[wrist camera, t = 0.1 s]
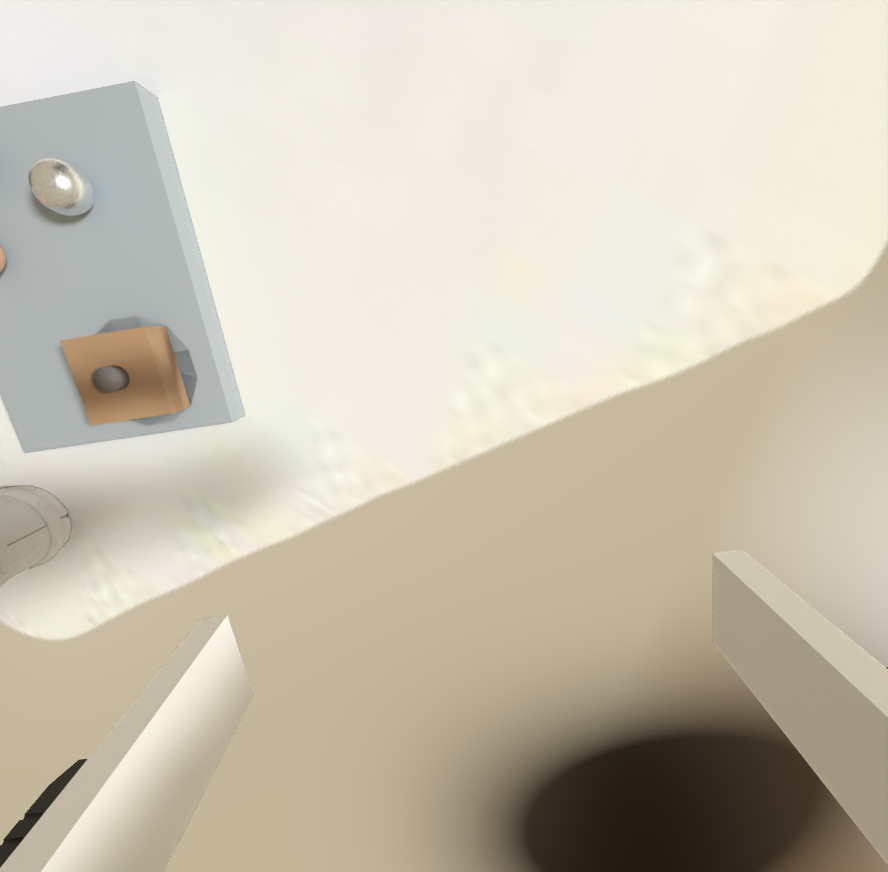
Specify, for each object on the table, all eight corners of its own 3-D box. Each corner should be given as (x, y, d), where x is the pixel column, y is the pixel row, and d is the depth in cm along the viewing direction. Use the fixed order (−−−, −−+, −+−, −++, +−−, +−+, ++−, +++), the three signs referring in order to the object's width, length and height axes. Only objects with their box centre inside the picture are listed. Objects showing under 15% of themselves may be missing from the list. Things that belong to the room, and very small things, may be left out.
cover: (86, 338, 35) (45, 341, 32) (165, 325, 35) (133, 327, 31) (114, 418, 37) (79, 429, 33) (190, 406, 37) (162, 417, 33)
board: (-72, 141, 34) (-112, 128, 32) (157, 97, 33) (134, 81, 31) (49, 444, 41) (24, 453, 38) (245, 415, 40) (232, 422, 37)
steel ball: (50, 170, 32) (4, 154, 29) (97, 161, 32) (56, 144, 29) (68, 223, 33) (25, 214, 30) (114, 215, 33) (76, 205, 30)
